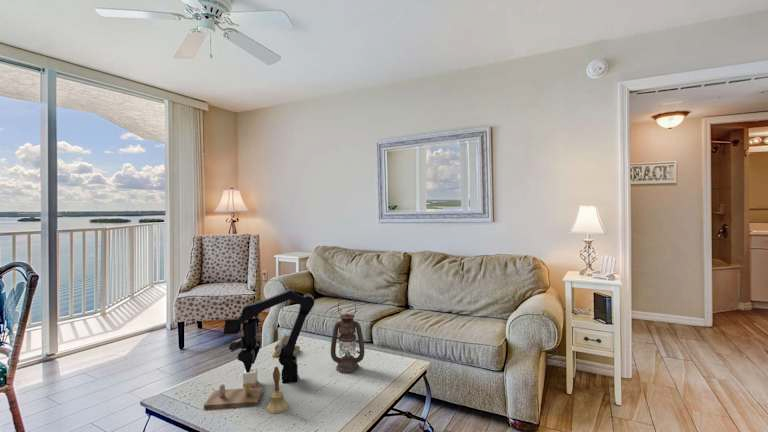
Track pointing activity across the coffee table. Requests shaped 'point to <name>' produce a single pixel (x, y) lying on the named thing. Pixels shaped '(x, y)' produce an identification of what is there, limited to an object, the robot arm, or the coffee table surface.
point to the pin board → (234, 397)
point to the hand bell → (276, 396)
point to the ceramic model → (284, 340)
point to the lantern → (347, 343)
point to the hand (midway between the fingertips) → (250, 367)
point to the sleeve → (250, 377)
